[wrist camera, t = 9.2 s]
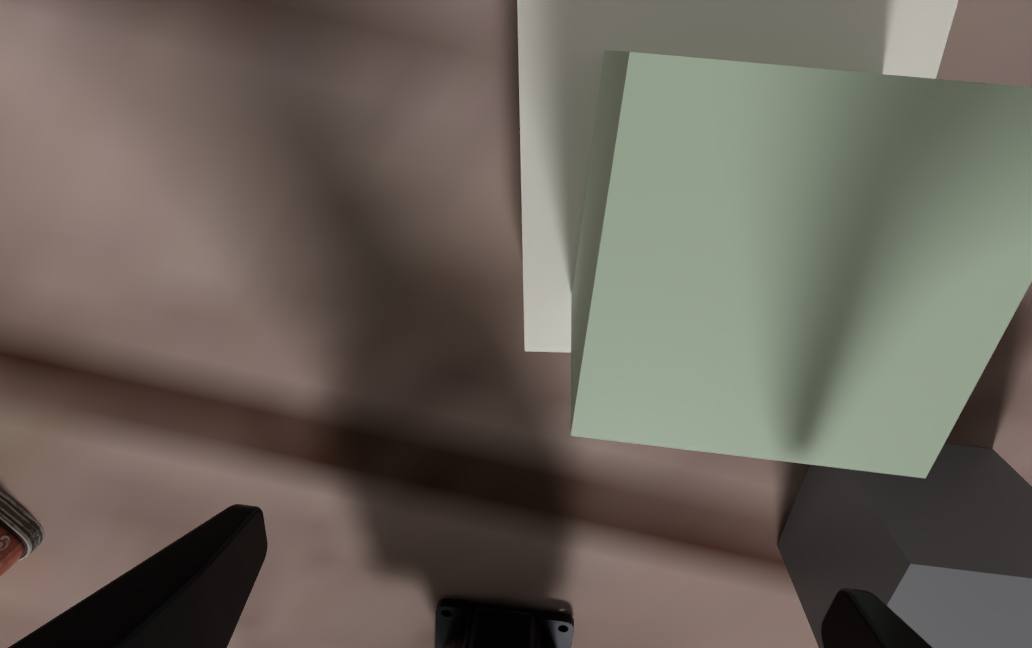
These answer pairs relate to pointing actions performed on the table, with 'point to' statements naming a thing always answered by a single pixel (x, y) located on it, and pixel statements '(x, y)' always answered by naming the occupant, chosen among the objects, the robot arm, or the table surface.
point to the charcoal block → (920, 547)
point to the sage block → (795, 258)
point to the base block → (677, 32)
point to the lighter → (16, 533)
